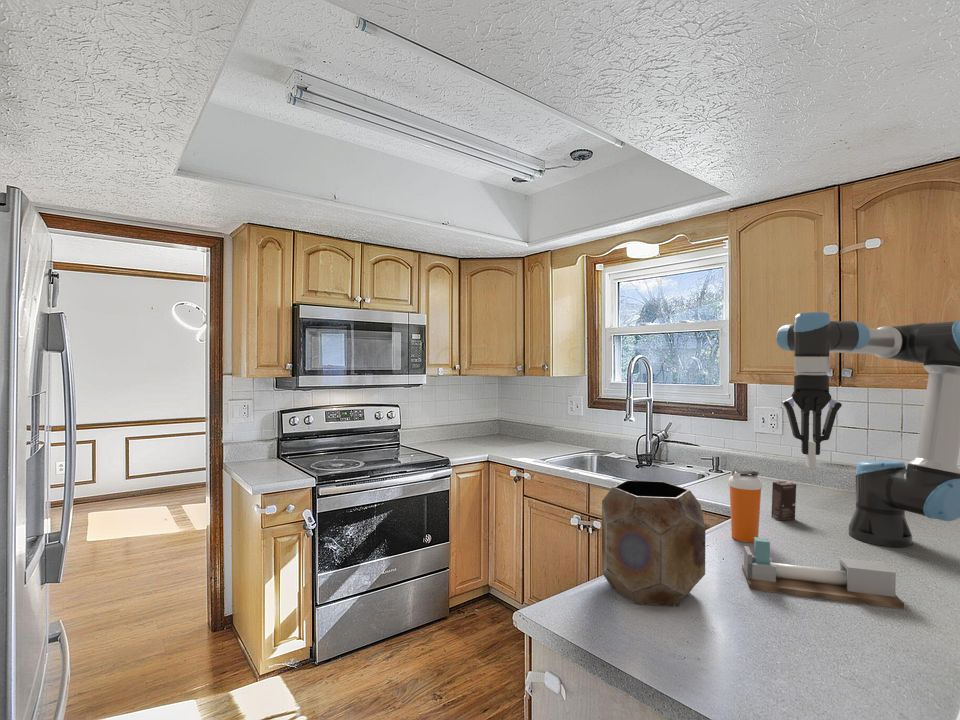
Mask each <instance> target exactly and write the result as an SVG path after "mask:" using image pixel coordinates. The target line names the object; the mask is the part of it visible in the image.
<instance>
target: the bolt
mask: <svg viewBox="0 0 960 720" xmlns="http://www.w3.org/2000/svg"><path fill="white" fill-rule="evenodd" d="M770 551H771V541H770V540H769V538H768V537H767V538H766V537H759V536H758V537H754V542H753V556H754V563H757V564H766V565H774V566H776V577H779V578H788V579H796V580H804V581H812V582H821V583H829V584H837V585H845V586H847V571H842V570H840V569H831V568H823V567H814V566H808V565H807V566H804V565H795V564H789V563H779V562H778V563H777V562H772V563H771V562H770V558H771V552H770Z"/></svg>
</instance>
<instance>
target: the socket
mask: <svg viewBox="0 0 960 720" xmlns="http://www.w3.org/2000/svg"><path fill="white" fill-rule="evenodd" d="M772 561H773V559H772V557H770V562H771V563H773V562H772ZM743 565H744V571H745V573H746V576H747V578H748V579H755V580H763V581H771V582H776V566H774V565H766V564H757V563H754V555H753V553H752V552H751V549H750V546H747V545H744V546H743Z"/></svg>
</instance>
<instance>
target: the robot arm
mask: <svg viewBox="0 0 960 720" xmlns="http://www.w3.org/2000/svg"><path fill="white" fill-rule="evenodd" d="M775 337H776V339H775V340H776V343H777V346H778V347H779V348H780V349H781V350H783V351H788V352H789V351H790V352H793V353H794V355H793V356H794V357H793V359H794V361H793V363H794V365H793V372H794V373H796V374H794V376H793V392H792V394H791V397H790V398H787V399H786V400H782V401H781V404H782V405H783V407H784V408H785V410H786V413H787V417H788V420H789V425H790V429H791V432H792V433H791V434H792V436H793V438H795V439H797V440H800V441H801V442H800V443H801V446H800V447H801V453H802V454H803V455H805V467H806V468H808V469H813V470H814V469H816V465H817V464H816V456H820V454H821V443H822V442H824V441H828V440H830V437H831V433H832V431H833V426H834V423H835V419H836V416H837V412H838V411H839V410H840V409H841V408H842V406H843V404H842V403H841V402H838V401H836V400H835V399H833V398H832V394H830V376H829V375H827V374H828V373H830V353H838V354H839V353H841V354H858V355H859V354H861V355H874V356H875V357H877V358H880V359H887V360H888V359H889V360H896V361H902V362H907V363H908V362H909V363H916V364H923V366H922V368H923V369H924V370H925V371H926V372H927V373H928V379H927V385H926V389H925V390H926V392H925V398H924V405H923V410H922V417H921V422H920V428H919V434H918V441H917V446H916V454H915V458H914V459H912V460H909V461H908V462H907V464H906V463H905V462H904V461H898V460H881V459H880V460H878V459H877V460H874V459H873V460H862V461H860V462H858V463H857V464H856V468H855V469H856V470H855V471H856V472H855V509H854V512H853V515H852V517H851V520H850V522H849V524H848V534H849V536H851V537H852V538H854V539H856V540H858V541H862V542H865V543H868V544H873V545H877V546H885V547H893V548H905V547H906V548H907V547H910V546H912V545H913V535H912V532H911V529H910V526H909V524H908V521H907V519H906V515H905V512H909V513H912V514H916V515H920V516H923V517H926V518H928V519H933V520H939V521H944V522H953V521H956V520H958V519H960V468H959V467H958V460H959V455H960V320H956V321H942V322H941V321H939V322H922V323H921V322H920V323H910V324H903V325H895V326H890V325H885V326H880V327H877V328H869V327H868V326H867V325H866V324H865V323H863V322H860V321H855V320H849V321H848V320H845V321H843V320H842V321H841V320H840V321H839V320H838V321H837V320H834V321H833V320H831V318H830V314H829V313H828V312H825V311H824V312H823V311H821V312H819V311H815V312H814V311H813V312H812V311H811V312H800V313H798V314H796V315H795V317H794V323H791V324H785V325H782V326H780V328H779V329H778V330H777V331H776V336H775ZM794 403H795V404H796V405H797V406H798V408H799V410H800V418H801V419H800V428H799V425H798V420H797V417H796V414H795V410H794V406H795V404H794ZM827 405H828V408H829V409H828V411H827V414H826V417H825V420H824V425H823V428H822V410H823V409H825V407H826V406H827ZM811 412H812V440H810V413H811Z"/></svg>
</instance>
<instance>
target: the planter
mask: <svg viewBox="0 0 960 720" xmlns="http://www.w3.org/2000/svg"><path fill="white" fill-rule="evenodd" d="M601 573H602V575H603V577H604V578H605V579H606V581H607V583H608V584H609V585H610V587H611V588H612V589H614V590H615V591H616V592H618V593H619V594H621V595H622V596H624V597H625V598H626V599H628V600H629V601H631V602H632V603H634V604H635V605H645V606H647V605H649V606H663V607H679V605H681V603H682V602H683V601H684V600H685V598H686V597H687V596H688V595H689V594H690V592H691V591H692V590H693V589H694V587H695V586H696V585H697V584H698V583H699V582H700V581H701V580H702V579H703V578H704V576H705V575H706V525H705V519H704V515H703V511H702V506H701V503H700V502H699V501H698V499H697V497H695V495H694V493H693V492H692V490H690V489H687V488H685V487H682V486H678V485H675V484H672V483H669V482H667V481H666V482H665V481H658V480H655V481H653V480H625V481H623V482H620V483H619V484H617V485H614V486H613V487H611V489H610V490H609V491H608V493H607V494H606V495H605V496H604V497H603V499H602V500H601Z"/></svg>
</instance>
